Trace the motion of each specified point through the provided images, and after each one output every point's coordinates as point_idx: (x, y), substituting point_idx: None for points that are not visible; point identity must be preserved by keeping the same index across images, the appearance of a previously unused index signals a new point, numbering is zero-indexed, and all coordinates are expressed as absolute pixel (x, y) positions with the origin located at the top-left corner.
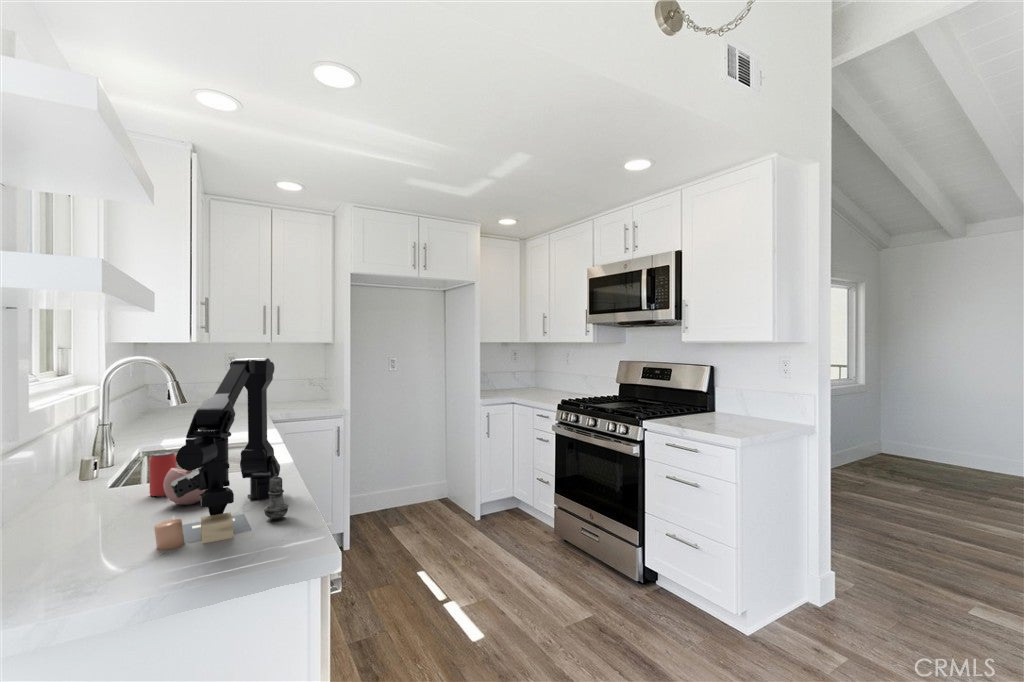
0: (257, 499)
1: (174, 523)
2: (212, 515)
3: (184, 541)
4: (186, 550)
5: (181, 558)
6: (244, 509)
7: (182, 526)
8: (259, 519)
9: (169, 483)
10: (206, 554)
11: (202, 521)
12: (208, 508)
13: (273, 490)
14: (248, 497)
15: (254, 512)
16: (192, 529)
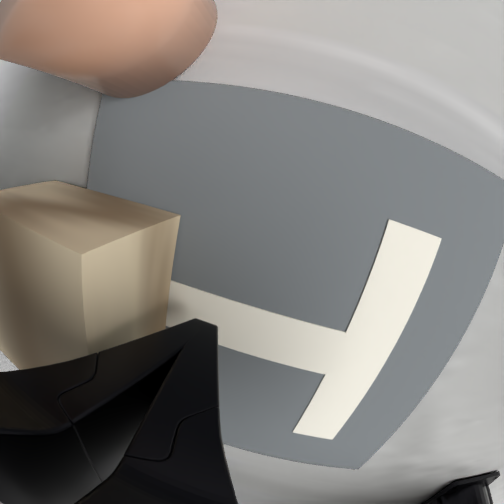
0: (440, 496)
1: (5, 14)
2: (82, 350)
3: (140, 99)
4: (59, 108)
5: (21, 93)
6: (422, 469)
7: (489, 192)
8: (242, 466)
9: None
10: (3, 175)
11: (5, 224)
12: (22, 369)
13: None
14: (486, 477)
15: (349, 482)
16: (368, 212)
